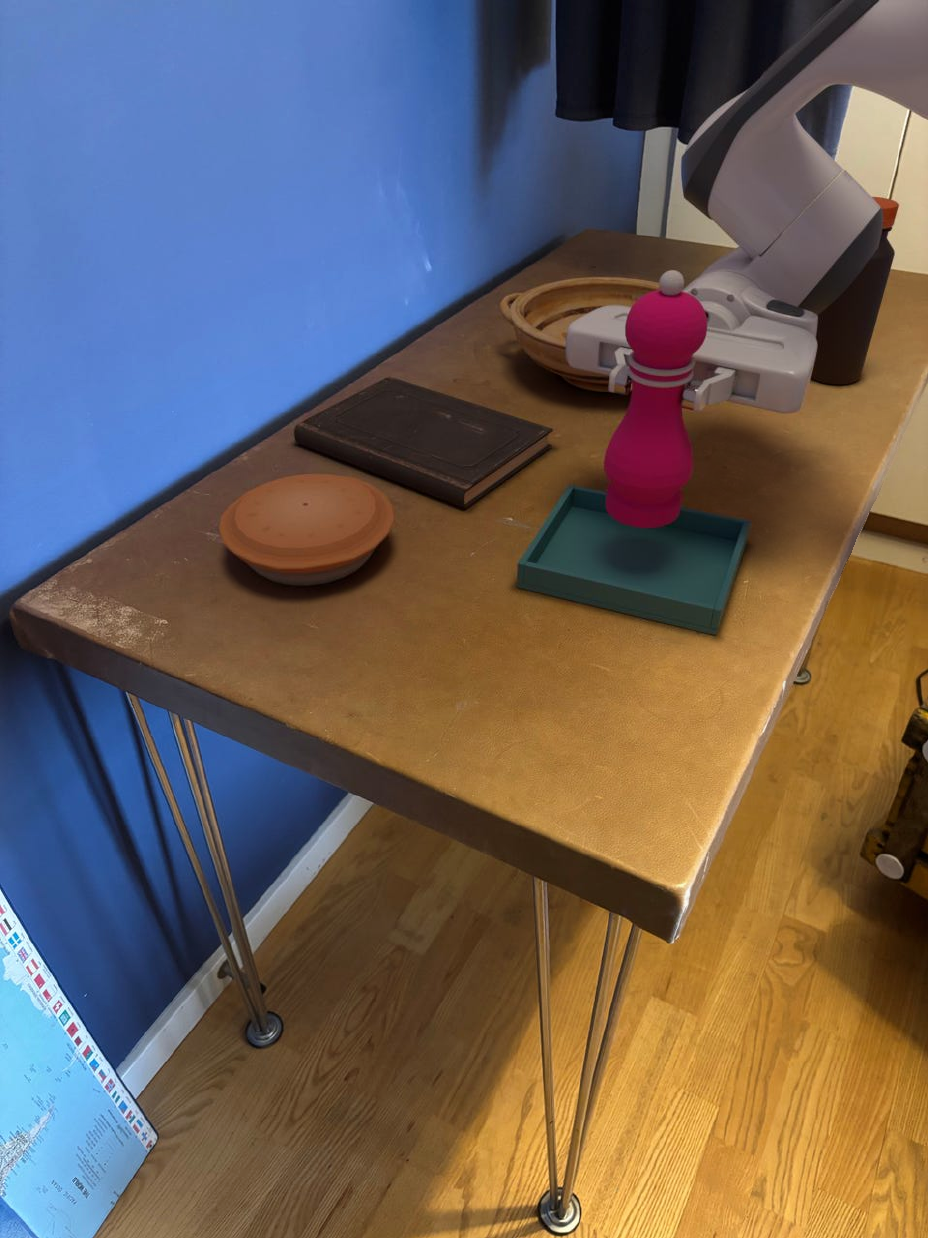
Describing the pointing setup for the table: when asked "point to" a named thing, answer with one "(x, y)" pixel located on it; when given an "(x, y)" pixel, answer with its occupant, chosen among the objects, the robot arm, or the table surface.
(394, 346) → the table surface
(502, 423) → the hardcover book
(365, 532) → the pie
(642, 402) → the pepper mill
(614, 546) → the tray
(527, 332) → the ceramic bowl
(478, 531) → the table surface
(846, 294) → the bottle
